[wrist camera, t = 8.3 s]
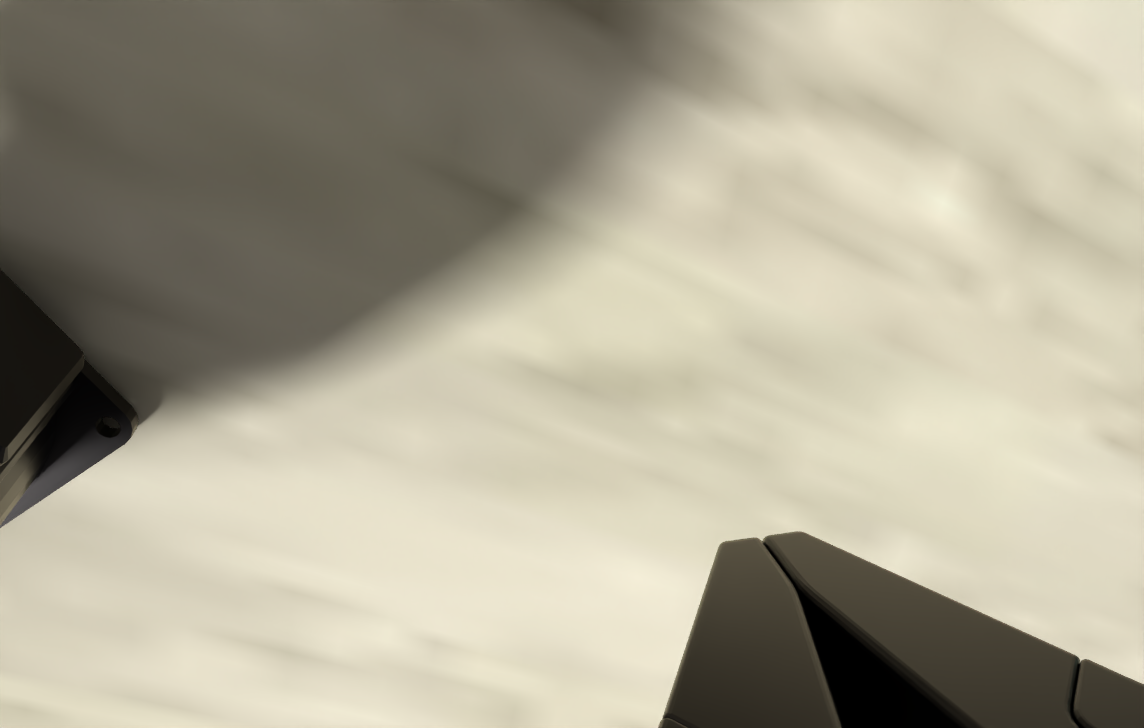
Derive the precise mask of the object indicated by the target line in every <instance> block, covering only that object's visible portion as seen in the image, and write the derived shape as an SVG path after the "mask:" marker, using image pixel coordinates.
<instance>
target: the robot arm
mask: <svg viewBox="0 0 1144 728" xmlns="http://www.w3.org/2000/svg"><path fill="white" fill-rule="evenodd" d="M102 417H112V418H113V419H115V420H117V421H118V423H119V424H120V426H121V427H120V428H118V429H116V428H110V427H109V426H107V425H105V423H104V422H103V420H102ZM137 425H138V417H137V413H136V412H135V410H134V409H133V407H132V406H131V405H130V404H129V403H128V402H127V401H126V400H125V399H124V398H123V397H122V396H121V395H120V394H119V393H118V392H117V391H116V390H115V389H114V388H113V387H112V386H111V385H110V384H109V383H108V382H107V381H106V380H105V379H104V378H103V377H102V376H101V375H100V374H99V373H98V372H97V371H96V370H95V369H94V368H93V367H92V366H91V365H90V364H89V363H88V362H87V361H85V360H84V355H83V352H82V350H81V349H80V348H79V347H78V346H77V345H76V344H75V343H74V342H73V341H72V340H71V339H70V338H69V337H68V336H67V335H66V334H65V333H64V332H63V331H62V330H61V329H60V328H59V327H58V326H57V325H56V324H55V323H54V322H53V321H52V320H51V319H50V318H49V317H48V316H47V315H46V314H45V313H44V312H43V311H42V310H41V309H40V308H39V307H38V306H37V305H36V304H35V303H34V302H33V301H32V300H30V299H29V298H28V297H27V296H26V295H25V294H24V293H23V292H22V291H21V290H20V289H19V288H18V287H17V286H16V285H15V284H14V283H13V282H12V281H11V280H10V279H9V278H8V277H7V276H6V275H5V274H4V273H3V272H2V271H1V270H0V528H1V527H2V526H4V525H5V524H7V523H8V522H10V521H11V520H13V519H14V518H16V517H17V516H19V515H20V514H22V513H23V512H25V511H26V510H28V509H29V508H30V507H32V506H33V505H35V504H36V503H38V502H39V501H41V500H42V499H44V498H45V497H47V496H48V495H50V494H51V493H53V492H54V491H56V490H57V489H59V488H60V487H62V486H63V485H65V484H66V483H68V482H69V481H71V480H72V479H74V478H75V477H77V476H78V475H79V474H81V473H82V472H84V471H85V470H87V469H88V468H90V467H91V466H93V465H94V464H96V463H97V462H99V461H100V460H102V459H103V458H105V457H106V456H108V455H109V454H111V453H112V452H114V451H115V450H117V449H118V448H120V447H121V446H123V445H124V444H125V443H126V442H127V441H128V440H129V439H130V438H131V437H132V435H133V433H134V432H135V430H136V428H137ZM658 728H1144V684H1142V683H1139V682H1137V681H1135V680H1132V679H1130V678H1128V677H1125V676H1123V675H1121V674H1119V673H1117V672H1114V671H1112V670H1110V669H1108V668H1106V667H1103V666H1101V665H1099V664H1097V663H1095V662H1092V661H1090V660H1087V659H1084V660H1082V661H1081V662H1080V659H1079V658H1078V657H1077V656H1076V655H1073V654H1071V653H1069V652H1067V651H1065V650H1062V649H1060V648H1058V647H1056V646H1054V645H1051V644H1049V643H1047V642H1045V641H1043V640H1040V639H1038V638H1036V637H1034V636H1032V635H1029V634H1027V633H1025V632H1023V631H1021V630H1018V629H1016V628H1014V627H1012V626H1009V625H1007V624H1005V623H1003V622H1001V621H998V620H996V619H994V618H992V617H990V616H987V615H985V614H983V613H981V612H979V611H976V610H974V609H972V608H970V607H968V606H965V605H963V604H961V603H959V602H957V601H954V600H952V599H950V598H948V597H946V596H943V595H941V594H939V593H937V592H935V591H932V590H930V589H928V588H926V587H923V586H921V585H919V584H917V583H915V582H912V581H910V580H908V579H906V578H904V577H901V576H899V575H897V574H895V573H893V572H890V571H888V570H886V569H884V568H882V567H879V566H877V565H875V564H873V563H871V562H868V561H866V560H864V559H862V558H860V557H857V556H855V555H853V554H851V553H848V552H846V551H844V550H842V549H840V548H837V547H835V546H833V545H831V544H829V543H826V542H824V541H822V540H820V539H818V538H815V537H813V536H811V535H809V534H807V533H804V532H798V531H797V532H790V533H783V534H776V535H769V536H767V537H765V538H764V539H763V541H761V540H760V539H758V538H748V539H740V540H733V541H725V542H723V543H721V544H720V546H719V548H718V550H717V553H716V556H715V560H714V563H713V566H712V569H711V572H710V575H709V578H708V581H707V584H706V587H705V590H704V593H703V596H702V599H701V602H700V605H699V608H698V611H697V614H696V617H695V620H694V623H693V627H692V630H691V633H690V636H689V639H688V642H687V645H686V648H685V651H684V654H683V657H682V660H681V663H680V666H679V669H678V672H677V675H676V678H675V681H674V684H673V687H672V690H671V694H670V697H669V700H668V703H667V706H666V709H665V712H664V715H663V719H662V720H661V722H660V724H659V727H658Z"/></svg>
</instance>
